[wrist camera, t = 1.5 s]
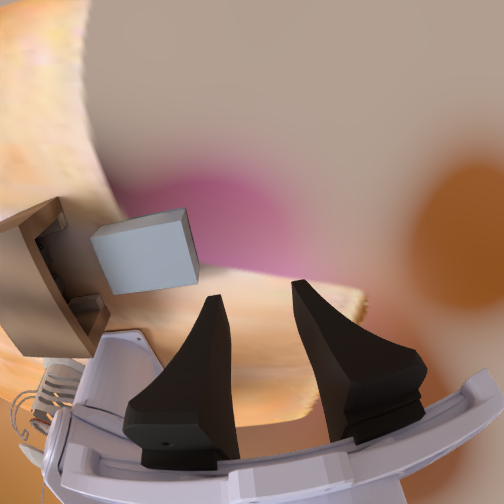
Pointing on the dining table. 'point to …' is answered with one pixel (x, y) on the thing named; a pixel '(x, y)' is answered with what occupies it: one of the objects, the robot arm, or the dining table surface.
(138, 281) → the grey rectangular block
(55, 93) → the dining table surface
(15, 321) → the overhang shelf
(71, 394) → the french press
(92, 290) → the dining table surface
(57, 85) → the dining table surface
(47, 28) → the dining table surface
